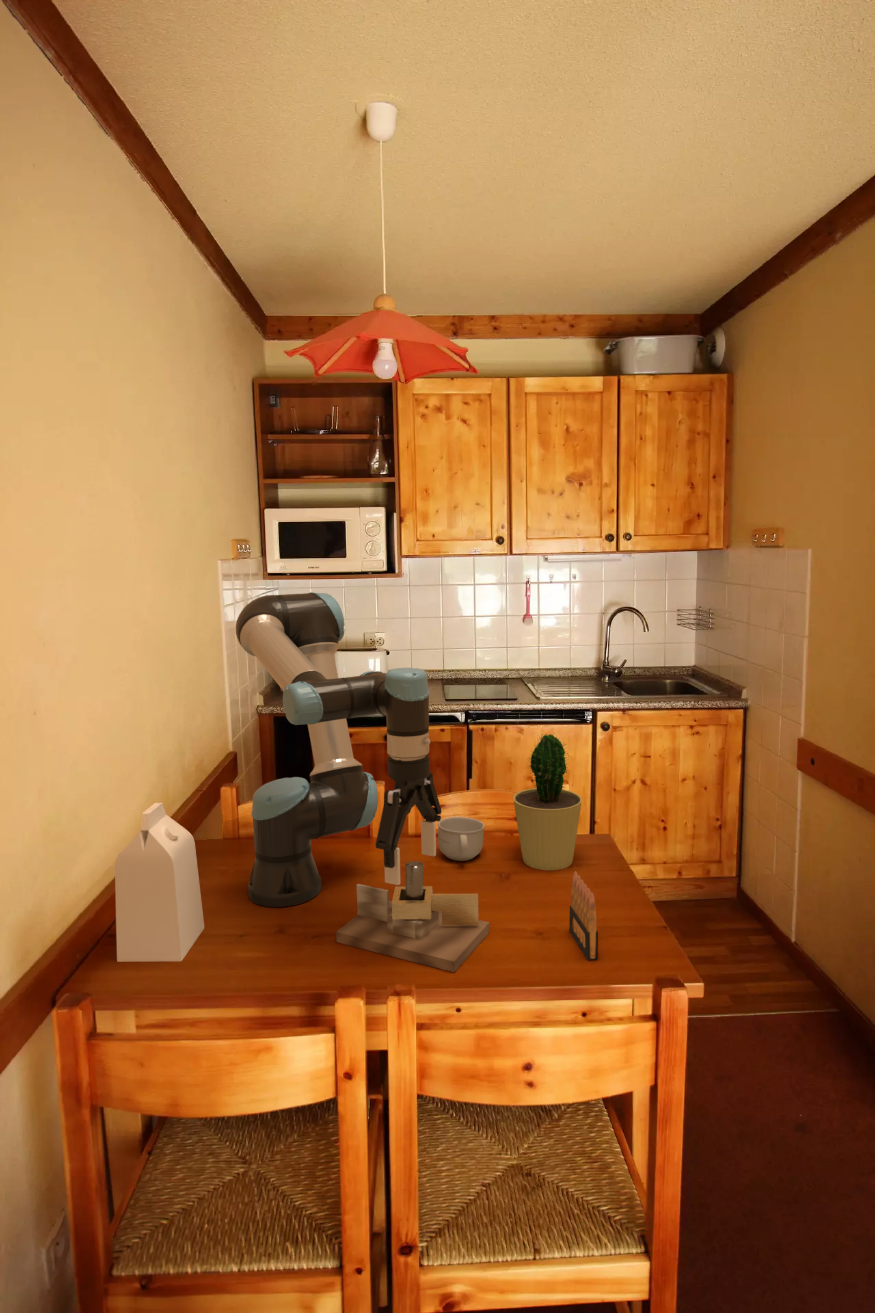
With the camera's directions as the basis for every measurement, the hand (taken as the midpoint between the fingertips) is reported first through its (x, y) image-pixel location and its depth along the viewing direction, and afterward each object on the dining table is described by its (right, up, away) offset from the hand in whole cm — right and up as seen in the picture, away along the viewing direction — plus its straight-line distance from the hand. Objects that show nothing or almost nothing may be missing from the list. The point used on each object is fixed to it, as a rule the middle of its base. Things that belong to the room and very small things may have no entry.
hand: (411, 868), depth 138 cm
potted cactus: (+30, -8, +35) cm, 47 cm away
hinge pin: (0, -11, +2) cm, 11 cm away
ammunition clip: (+31, -13, -2) cm, 34 cm away
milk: (-46, -15, +1) cm, 48 cm away
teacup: (+10, -8, +37) cm, 39 cm away
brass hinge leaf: (+5, -11, +1) cm, 12 cm away
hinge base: (0, -13, +2) cm, 13 cm away
